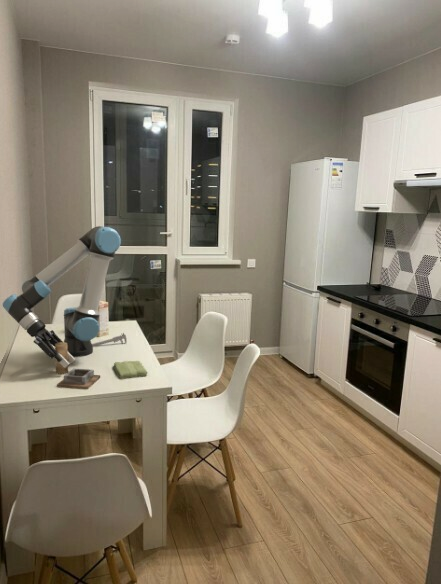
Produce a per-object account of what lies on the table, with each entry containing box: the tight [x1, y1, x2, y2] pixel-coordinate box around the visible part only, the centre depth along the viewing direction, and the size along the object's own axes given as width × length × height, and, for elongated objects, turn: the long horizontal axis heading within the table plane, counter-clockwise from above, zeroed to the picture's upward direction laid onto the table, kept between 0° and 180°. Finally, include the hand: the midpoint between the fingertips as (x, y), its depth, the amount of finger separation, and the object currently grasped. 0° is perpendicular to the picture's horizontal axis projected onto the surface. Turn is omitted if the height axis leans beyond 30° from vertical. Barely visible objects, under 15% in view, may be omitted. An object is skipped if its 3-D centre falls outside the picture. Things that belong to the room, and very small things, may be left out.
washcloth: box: [112, 360, 148, 379], centre depth 194 cm, size 13×18×3 cm
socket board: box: [56, 368, 101, 390], centre depth 179 cm, size 13×13×4 cm
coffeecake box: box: [96, 300, 110, 338], centre depth 251 cm, size 15×7×20 cm, turn 55°
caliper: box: [92, 332, 128, 348], centre depth 231 cm, size 20×1×6 cm, turn 115°
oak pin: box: [54, 341, 69, 375], centre depth 189 cm, size 5×5×13 cm
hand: (70, 363), depth 189 cm, fingers closed on oak pin, 5 cm apart
